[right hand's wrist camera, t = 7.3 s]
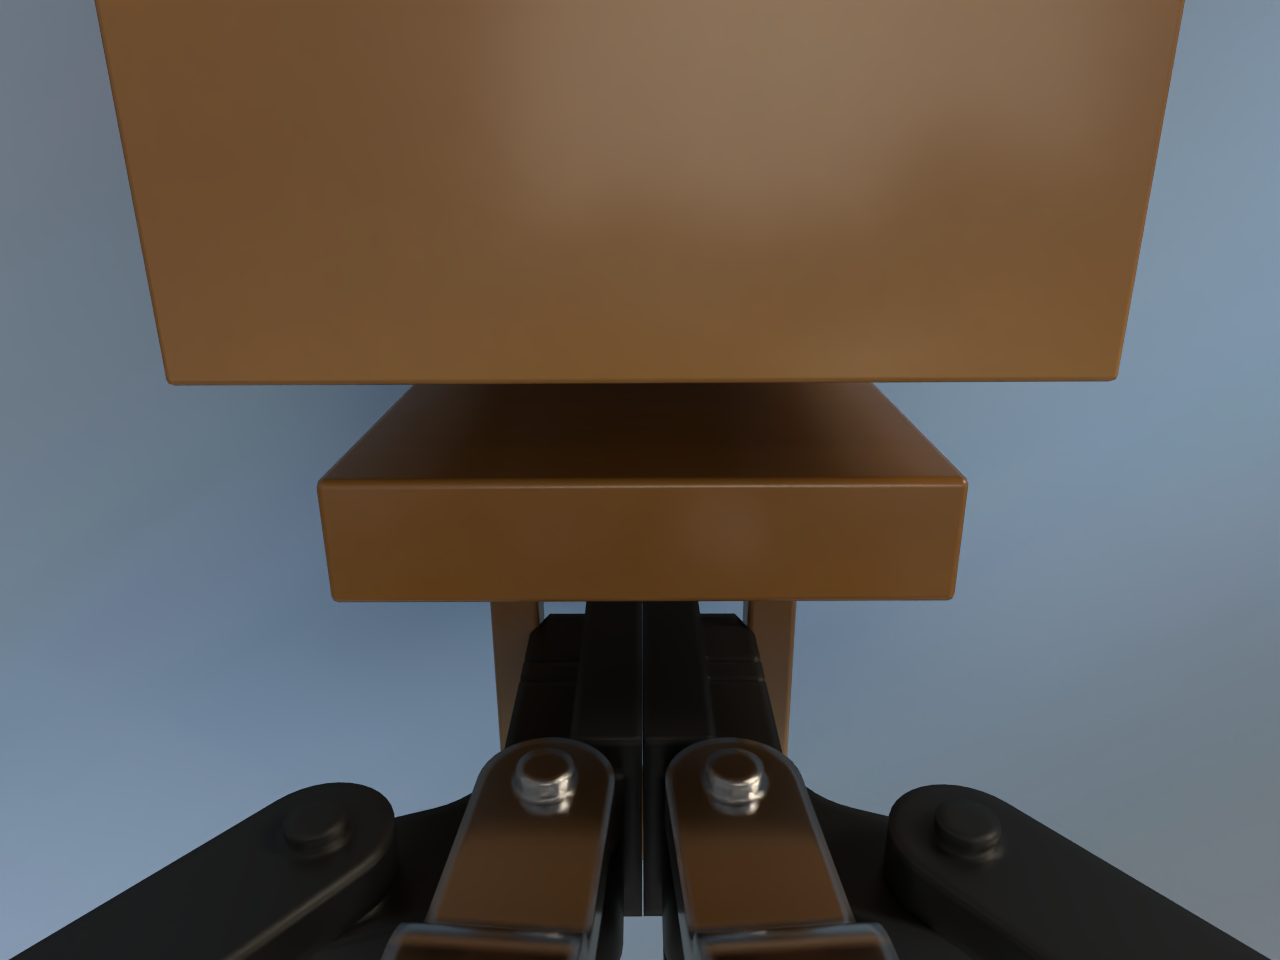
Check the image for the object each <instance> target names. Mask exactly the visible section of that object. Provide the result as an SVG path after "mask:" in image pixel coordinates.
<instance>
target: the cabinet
mask: <svg viewBox="0 0 1280 960" xmlns="http://www.w3.org/2000/svg"><path fill="white" fill-rule="evenodd" d="M1184 2H1185V0H95V5H96V10H97V16H98V21H99V26H100V32H101V37H102V42H103V47H104V53H105V58H106V63H107V68H108V74H109V79H110V84H111V90H112V95H113V100H114V105H115V111H116V116H117V121H118V126H119V132H120V137H121V142H122V147H123V153H124V158H125V163H126V169H127V174H128V179H129V184H130V190H131V195H132V200H133V205H134V211H135V216H136V221H137V227H138V232H139V237H140V242H141V248H142V253H143V258H144V263H145V269H146V274H147V279H148V285H149V290H150V295H151V300H152V306H153V311H154V316H155V321H156V327H157V332H158V337H159V342H160V348H161V353H162V358H163V364H164V369H165V374H166V379H167V381H168V383H169V384H172V385H391V384H615V383H839V382H1063V381H1111V380H1115V379H1116V377H1117V375H1118V370H1119V364H1120V359H1121V353H1122V348H1123V342H1124V336H1125V331H1126V325H1127V320H1128V314H1129V309H1130V303H1131V297H1132V292H1133V286H1134V281H1135V275H1136V270H1137V264H1138V258H1139V253H1140V247H1141V242H1142V236H1143V231H1144V225H1145V219H1146V214H1147V208H1148V203H1149V197H1150V192H1151V186H1152V180H1153V175H1154V169H1155V164H1156V158H1157V153H1158V147H1159V141H1160V136H1161V130H1162V125H1163V119H1164V113H1165V108H1166V102H1167V97H1168V91H1169V86H1170V80H1171V74H1172V69H1173V63H1174V58H1175V52H1176V47H1177V41H1178V35H1179V30H1180V24H1181V19H1182V13H1183V8H1184Z"/></svg>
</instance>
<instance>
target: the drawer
mask: <svg viewBox="0 0 1280 960" xmlns="http://www.w3.org/2000/svg"><path fill="white" fill-rule="evenodd" d="M967 491H968V482H967V479H966V478H965V477H964V476H963V475H962V474H961V473H960V472H959V471H958V470H957V468H956V467H955V466H954V465H953V464H952V463H951V462H950V461H949V460H948V459H947V458H946V457H945V456H944V455H943V454H942V453H941V452H940V451H939V450H938V449H937V448H936V447H935V446H934V445H933V444H932V443H931V442H930V441H929V440H928V439H927V438H926V437H925V436H924V435H923V434H922V433H921V432H920V431H919V430H918V429H917V428H916V427H915V426H914V425H913V424H912V423H911V422H910V421H909V420H908V419H907V418H906V417H905V416H904V415H903V414H902V413H901V412H900V411H899V410H898V409H897V408H896V407H895V406H894V405H893V404H892V403H891V402H890V401H889V400H888V399H887V397H886V396H885V395H884V394H883V393H882V392H881V391H880V390H879V389H878V388H877V387H876V386H875V385H874V384H873V383H872V382H839V383H615V384H414V385H413V386H412V387H411V388H410V389H409V390H408V391H407V392H406V393H405V394H404V395H403V396H402V397H401V398H400V399H399V400H398V401H397V402H396V403H395V404H394V405H393V406H392V407H391V408H390V409H389V410H388V411H387V412H386V413H385V414H384V415H383V416H382V417H381V418H380V419H379V420H378V421H377V422H376V423H375V424H374V425H373V426H372V427H371V428H370V429H369V430H368V431H367V432H366V433H365V434H364V435H363V436H362V437H361V438H360V439H359V440H358V441H357V442H356V444H355V445H354V446H353V447H352V448H351V449H350V450H349V451H348V452H347V453H346V454H345V455H344V456H343V457H342V458H341V459H340V460H339V461H338V462H337V463H336V464H335V465H334V466H333V467H332V468H331V469H330V470H329V471H328V472H327V473H326V474H325V475H324V476H323V477H322V478H321V479H320V480H319V481H318V484H317V494H318V501H319V508H320V515H321V523H322V530H323V537H324V545H325V552H326V559H327V566H328V574H329V581H330V588H331V595H332V598H333V600H334V601H337V602H490V605H491V619H492V633H493V648H494V662H495V676H496V691H497V705H498V719H499V733H500V748H501V751H502V750H504V748H505V744H506V739H507V735H508V730H509V726H510V721H511V717H512V712H513V708H514V703H515V699H516V694H517V690H518V685H519V682H520V676H521V672H522V667H523V663H524V662H525V654H526V649H527V645H528V640H529V636H530V633H531V632H532V631H533V630H534V629H535V628H536V627H538V626H539V625H540V623H541V622H542V621H543V620H544V601H744V604H743V623H744V624H745V625H746V626H747V627H748V628H749V629H750V630H751V631H752V632H753V633H754V634H755V637H756V641H757V646H758V650H759V654H760V662H761V663H762V667H763V671H764V676H765V682H766V684H767V689H768V693H769V697H770V702H771V706H772V710H773V714H774V719H775V723H776V727H777V732H778V736H779V740H780V745H781V749H782V753H783V754H784V755H785V756H786V757H787V748H788V732H789V715H790V699H791V682H792V665H793V649H794V632H795V615H796V601H869V600H949V599H952V598H953V596H954V592H955V585H956V577H957V569H958V561H959V554H960V546H961V538H962V530H963V522H964V514H965V506H966V498H967ZM642 860H643V765H642Z"/></svg>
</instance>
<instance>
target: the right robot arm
mask: <svg viewBox="0 0 1280 960" xmlns="http://www.w3.org/2000/svg"><path fill="white" fill-rule="evenodd" d="M642 734H643V881H644V916H662V920H663V960H1270V959H1269V958H1267V957H1265V956H1264V955H1262V954H1260V953H1259V952H1257V951H1255V950H1254V949H1252V948H1250V947H1249V946H1247V945H1245V944H1243V943H1242V942H1240V941H1238V940H1237V939H1235V938H1233V937H1232V936H1230V935H1228V934H1227V933H1225V932H1223V931H1222V930H1220V929H1218V928H1217V927H1215V926H1213V925H1211V924H1210V923H1208V922H1206V921H1205V920H1203V919H1201V918H1200V917H1198V916H1196V915H1195V914H1193V913H1191V912H1190V911H1188V910H1186V909H1185V908H1183V907H1181V906H1180V905H1178V904H1176V903H1174V902H1173V901H1171V900H1169V899H1168V898H1166V897H1164V896H1163V895H1161V894H1159V893H1158V892H1156V891H1154V890H1153V889H1151V888H1149V887H1148V886H1146V885H1144V884H1143V883H1141V882H1139V881H1137V880H1136V879H1134V878H1132V877H1131V876H1129V875H1127V874H1126V873H1124V872H1122V871H1121V870H1119V869H1117V868H1116V867H1114V866H1112V865H1111V864H1109V863H1107V862H1106V861H1104V860H1102V859H1100V858H1099V857H1097V856H1095V855H1094V854H1092V853H1090V852H1089V851H1087V850H1085V849H1084V848H1082V847H1080V846H1079V845H1077V844H1075V843H1074V842H1072V841H1070V840H1068V839H1067V838H1065V837H1063V836H1062V835H1060V834H1058V833H1057V832H1055V831H1053V830H1052V829H1050V828H1048V827H1047V826H1045V825H1043V824H1042V823H1040V822H1038V821H1037V820H1035V819H1033V818H1031V817H1030V816H1028V815H1026V814H1025V813H1023V812H1021V811H1020V810H1018V809H1016V808H1015V807H1013V806H1011V805H1010V804H1008V803H1006V802H1004V801H1002V800H1000V799H999V798H997V797H995V796H992V795H990V794H987V793H985V792H982V791H979V790H975V789H972V788H968V787H963V786H957V785H945V784H944V785H929V786H923V787H919V788H916V789H913V790H911V791H909V792H907V793H905V794H904V795H902V796H901V797H900V798H899V799H898V800H897V801H896V802H895V804H894V805H893V806H892V808H891V811H890V814H889V816H885V815H880V814H876V813H872V812H867V811H863V810H859V809H855V808H851V807H847V806H844V805H840V804H838V803H835V802H833V801H830V800H828V799H826V798H824V797H822V796H820V795H818V794H816V793H814V792H813V791H812V790H810V789H809V788H807V787H806V786H805V784H804V781H803V778H802V776H801V774H800V772H799V770H798V768H797V767H796V766H795V765H794V763H793V762H792V761H791V760H790V759H789V758H788V757H786V756H785V755H784V754H783V753H782V749H781V745H780V740H779V736H778V732H777V727H776V723H775V719H774V714H773V710H772V706H771V702H770V697H769V693H768V689H767V684H766V682H765V676H764V671H763V667H762V663H761V662H760V654H759V650H758V646H757V641H756V637H755V634H754V633H753V632H752V631H751V630H750V629H749V628H748V627H747V626H746V625H745V624H744V623H743V622H742V621H741V620H740V619H739V618H738V617H737V616H736V615H735V614H700V611H699V603H698V601H586V610H585V614H549V615H548V616H547V617H546V618H545V619H544V620H543V621H542V622H541V623H540V625H539V626H538V627H536V628H535V629H534V630H533V631H532V632H531V633H530V636H529V640H528V645H527V649H526V654H525V662H524V663H523V667H522V672H521V676H520V682H519V685H518V690H517V694H516V699H515V703H514V708H513V712H512V717H511V721H510V726H509V730H508V735H507V739H506V744H505V748H504V750H502V751H501V752H499V753H498V754H496V755H495V756H494V757H492V758H491V759H490V760H489V761H488V762H487V763H486V764H485V766H484V767H483V768H482V770H481V772H480V774H479V776H478V778H477V781H476V784H475V786H474V789H473V792H472V793H471V794H469V795H467V796H465V797H463V798H461V799H460V800H457V801H455V802H452V803H450V804H447V805H444V806H440V807H437V808H433V809H429V810H425V811H421V812H416V813H412V814H408V815H404V816H399V817H394V812H393V809H392V806H391V804H390V803H389V801H388V800H387V799H386V798H385V797H384V796H383V795H382V794H381V793H380V792H378V791H376V790H374V789H372V788H370V787H367V786H364V785H360V784H354V783H341V782H338V783H326V784H320V785H315V786H311V787H308V788H304V789H301V790H298V791H296V792H293V793H291V794H288V795H286V796H285V797H283V798H281V799H279V800H277V801H275V802H274V803H272V804H270V805H268V806H267V807H265V808H263V809H262V810H260V811H258V812H257V813H255V814H253V815H252V816H250V817H248V818H247V819H245V820H243V821H242V822H240V823H238V824H237V825H235V826H233V827H231V828H230V829H228V830H226V831H225V832H223V833H221V834H220V835H218V836H216V837H215V838H213V839H211V840H210V841H208V842H206V843H205V844H203V845H201V846H199V847H198V848H196V849H194V850H193V851H191V852H189V853H188V854H186V855H184V856H183V857H181V858H179V859H178V860H176V861H174V862H173V863H171V864H169V865H168V866H166V867H164V868H162V869H161V870H159V871H157V872H156V873H154V874H152V875H151V876H149V877H147V878H146V879H144V880H142V881H141V882H139V883H137V884H136V885H134V886H132V887H131V888H129V889H127V890H125V891H124V892H122V893H120V894H119V895H117V896H115V897H114V898H112V899H110V900H109V901H107V902H105V903H104V904H102V905H100V906H99V907H97V908H95V909H94V910H92V911H90V912H88V913H87V914H85V915H83V916H82V917H80V918H78V919H77V920H75V921H73V922H72V923H70V924H68V925H67V926H65V927H63V928H62V929H60V930H58V931H57V932H55V933H53V934H51V935H50V936H48V937H46V938H45V939H43V940H41V941H40V942H38V943H36V944H35V945H33V946H31V947H30V948H28V949H26V950H25V951H23V952H21V953H20V954H18V955H16V956H14V957H13V958H11V959H9V960H620V958H621V955H622V948H623V923H624V916H642Z"/></svg>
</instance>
